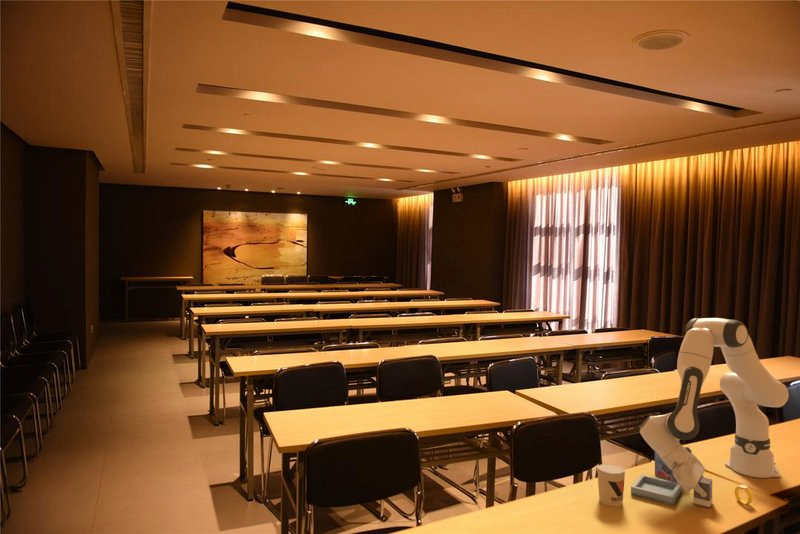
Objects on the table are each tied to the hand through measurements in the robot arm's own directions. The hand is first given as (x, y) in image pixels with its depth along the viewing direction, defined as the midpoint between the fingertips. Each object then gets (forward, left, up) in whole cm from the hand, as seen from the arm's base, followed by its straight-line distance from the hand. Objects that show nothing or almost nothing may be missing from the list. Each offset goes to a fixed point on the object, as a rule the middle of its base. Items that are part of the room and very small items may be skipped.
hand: (707, 492), depth 190 cm
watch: (-10, +10, -5) cm, 15 cm away
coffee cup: (+18, -27, -5) cm, 33 cm away
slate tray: (+1, -16, -4) cm, 17 cm away
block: (0, -1, -4) cm, 5 cm away
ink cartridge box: (-17, -16, -5) cm, 24 cm away
